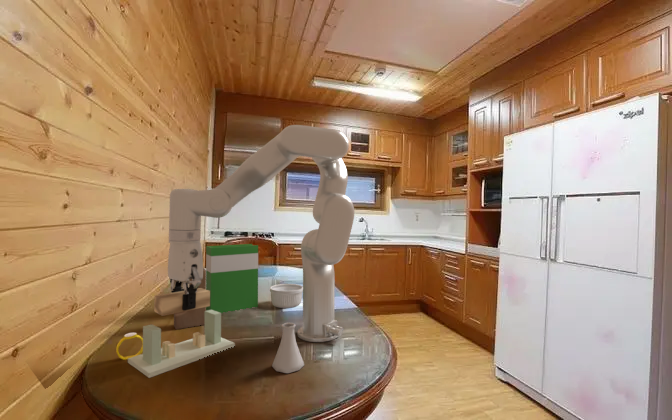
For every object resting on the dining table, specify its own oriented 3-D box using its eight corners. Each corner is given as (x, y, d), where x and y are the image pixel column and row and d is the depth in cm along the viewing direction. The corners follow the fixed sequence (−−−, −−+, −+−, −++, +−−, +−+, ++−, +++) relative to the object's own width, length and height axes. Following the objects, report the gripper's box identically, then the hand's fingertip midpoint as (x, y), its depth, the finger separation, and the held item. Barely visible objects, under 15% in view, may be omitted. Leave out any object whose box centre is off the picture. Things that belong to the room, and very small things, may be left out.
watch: (117, 363, 81) (115, 339, 80) (116, 360, 83) (114, 336, 82) (145, 355, 84) (144, 332, 84) (144, 352, 86) (142, 329, 86)
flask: (289, 357, 84) (289, 317, 84) (309, 365, 79) (310, 324, 79) (266, 367, 78) (266, 325, 78) (287, 377, 74) (287, 332, 74)
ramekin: (309, 303, 135) (309, 286, 135) (288, 311, 123) (288, 292, 123) (284, 298, 142) (284, 282, 142) (262, 305, 130) (262, 288, 131)
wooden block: (175, 330, 103) (175, 272, 103) (173, 325, 107) (174, 270, 107) (205, 325, 108) (206, 269, 108) (203, 321, 111) (203, 267, 112)
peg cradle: (234, 346, 90) (234, 313, 90) (149, 377, 73) (149, 337, 73) (210, 336, 98) (210, 305, 98) (127, 362, 80) (128, 325, 81)
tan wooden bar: (209, 306, 88) (210, 290, 88) (162, 315, 79) (162, 299, 79) (200, 302, 91) (201, 288, 92) (154, 311, 83) (154, 295, 83)
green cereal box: (251, 302, 135) (251, 243, 135) (257, 307, 129) (258, 245, 129) (205, 309, 125) (206, 246, 125) (210, 314, 119) (211, 247, 119)
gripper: (216, 238, 83) (214, 310, 83) (182, 234, 94) (181, 298, 94) (187, 239, 77) (185, 317, 77) (155, 235, 88) (153, 304, 88)
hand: (183, 306), depth 85 cm, fingers closed on tan wooden bar, 5 cm apart
